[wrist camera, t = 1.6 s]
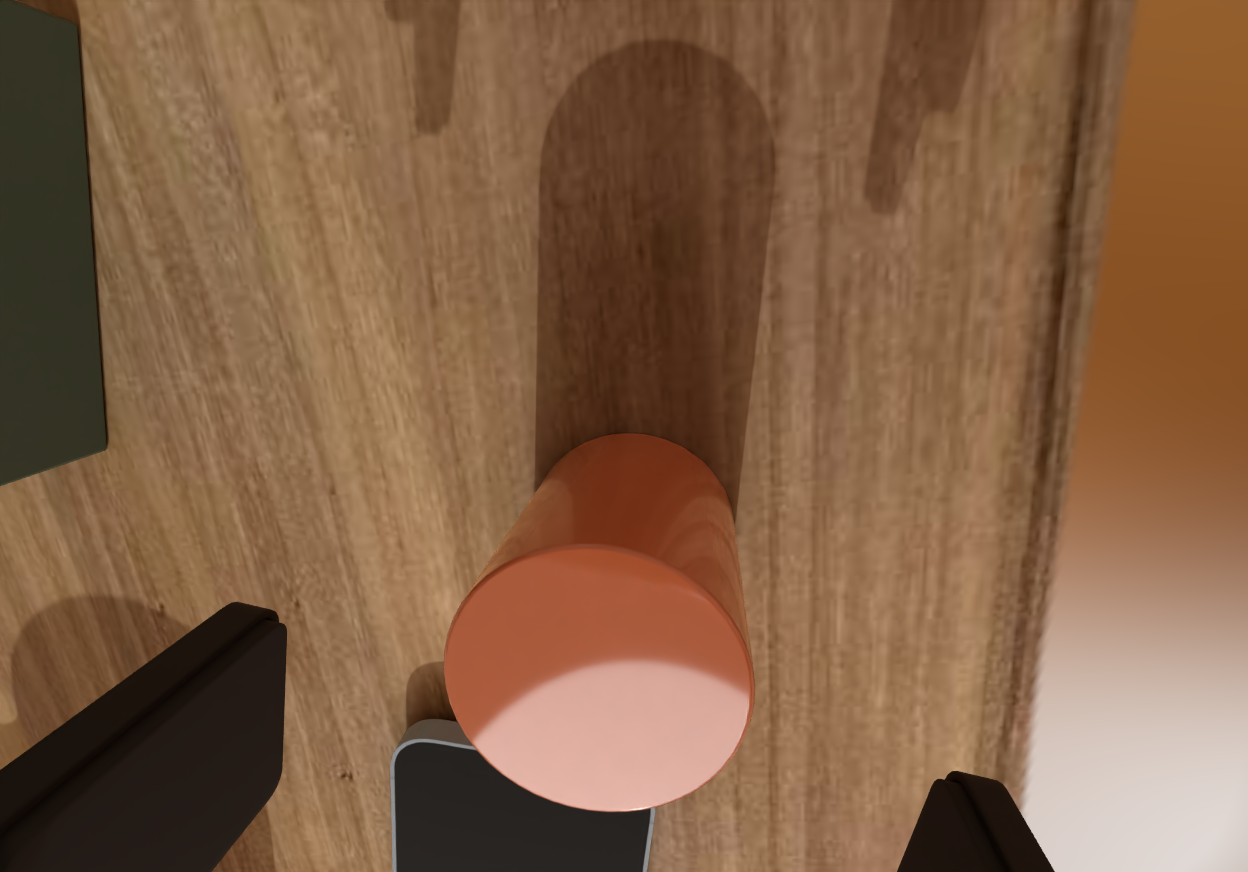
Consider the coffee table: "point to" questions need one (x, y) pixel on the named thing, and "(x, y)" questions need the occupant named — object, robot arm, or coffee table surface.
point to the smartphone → (496, 816)
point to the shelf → (45, 252)
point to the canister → (609, 633)
